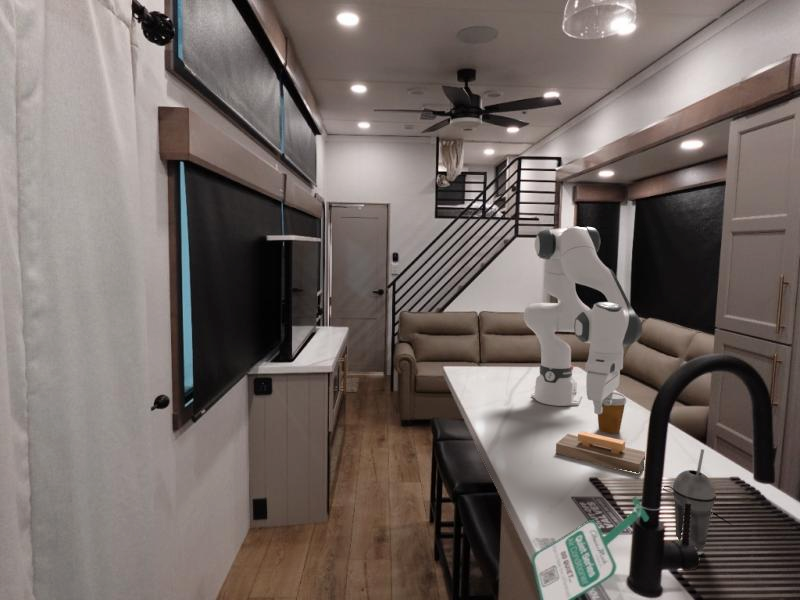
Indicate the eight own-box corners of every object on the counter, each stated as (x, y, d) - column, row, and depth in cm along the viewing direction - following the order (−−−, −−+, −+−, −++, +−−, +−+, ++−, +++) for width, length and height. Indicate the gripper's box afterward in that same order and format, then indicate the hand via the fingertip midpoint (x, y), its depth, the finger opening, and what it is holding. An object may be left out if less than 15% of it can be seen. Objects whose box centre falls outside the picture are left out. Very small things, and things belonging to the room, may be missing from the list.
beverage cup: (660, 538, 98) (666, 442, 96) (694, 537, 98) (701, 442, 96) (684, 561, 90) (691, 457, 89) (721, 559, 91) (729, 457, 89)
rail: (567, 443, 148) (567, 433, 147) (646, 462, 134) (647, 452, 134) (555, 453, 140) (556, 443, 139) (638, 475, 126) (639, 464, 126)
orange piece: (580, 450, 142) (581, 431, 141) (624, 461, 134) (625, 441, 134) (577, 454, 139) (578, 433, 139) (621, 465, 132) (622, 444, 132)
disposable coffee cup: (625, 428, 161) (627, 393, 160) (623, 438, 153) (626, 400, 152) (595, 423, 165) (596, 389, 164) (591, 432, 157) (593, 396, 156)
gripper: (604, 353, 145) (601, 398, 146) (582, 365, 128) (580, 416, 130) (626, 356, 141) (623, 402, 142) (607, 369, 125) (605, 421, 126)
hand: (603, 409), depth 136 cm, fingers open, 8 cm apart
